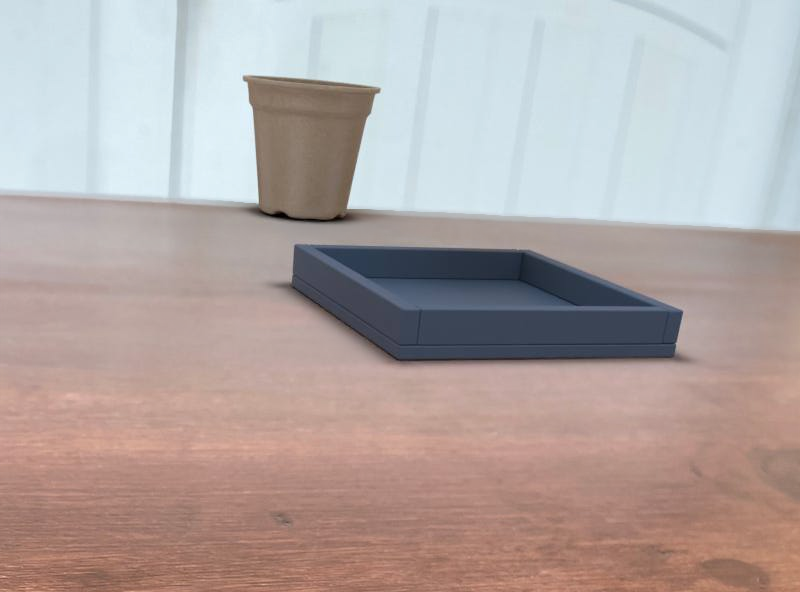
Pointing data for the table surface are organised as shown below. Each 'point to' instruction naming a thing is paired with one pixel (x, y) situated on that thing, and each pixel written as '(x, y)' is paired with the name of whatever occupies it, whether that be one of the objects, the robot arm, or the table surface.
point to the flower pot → (307, 143)
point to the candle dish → (481, 304)
